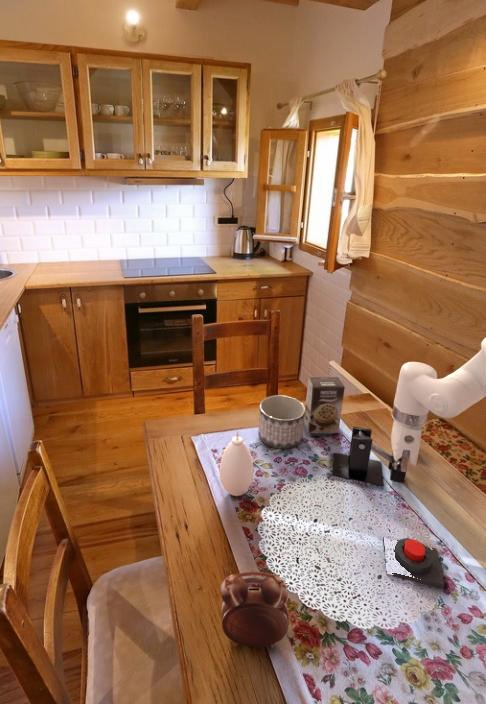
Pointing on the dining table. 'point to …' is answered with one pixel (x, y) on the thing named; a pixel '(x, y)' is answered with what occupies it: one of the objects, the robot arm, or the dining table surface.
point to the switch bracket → (358, 461)
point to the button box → (420, 566)
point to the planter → (281, 421)
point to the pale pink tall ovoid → (236, 467)
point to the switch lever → (378, 450)
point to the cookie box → (323, 404)
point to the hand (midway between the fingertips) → (395, 474)
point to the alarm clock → (254, 609)
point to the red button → (414, 550)
